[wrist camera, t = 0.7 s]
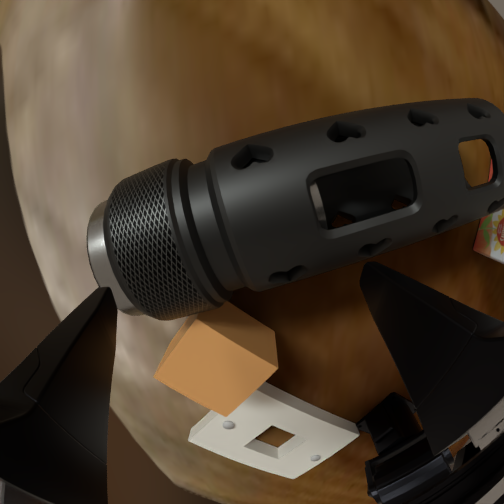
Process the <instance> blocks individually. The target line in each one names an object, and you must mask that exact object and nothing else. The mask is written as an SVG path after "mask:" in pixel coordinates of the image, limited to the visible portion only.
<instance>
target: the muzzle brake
mask: <svg viewBox="0 0 504 504" xmlns="http://www.w3.org/2000/svg"><path fill="white" fill-rule="evenodd" d="M475 139H482V140H483V141H485V142H486V144H487V146H488V148H489V151H490V155H491V159H492V167H493V174H492V178H491V179H490V181H489V182H487V183H484V184H481V185H478V186H474V187H471V186H470V185H469V184H468V182H467V181H466V179H465V178H464V171H463V166H462V162H461V158H460V155H459V151H458V145H459V143H460V142H464V141H469V140H475ZM394 199H396V200H398V201H400V202H402V203H405V204H406V205H408V206H406V207H404V206H403V208H401V209H398V210H395V209H393V208H392V207H391V204H392V203H393V201H394ZM502 209H504V114H503V113H502V112H501V110H500V109H498V108H497V107H496V106H495V105H493V104H492V103H490V102H488V101H486V100H483V99H479V98H464V99H446V100H434V101H423V102H414V103H405V104H398V105H390V106H384V107H377V108H371V109H365V110H359V111H354V112H349V113H344V114H339V115H334V116H329V117H324V118H320V119H315V120H311V121H307V122H303V123H299V124H295V125H291V126H287V127H283V128H279V129H276V130H272V131H269V132H265V133H262V134H258V135H255V136H251V137H248V138H245V139H242V140H238V141H235V142H232V143H229V144H226V145H223V146H220V147H217V148H214V149H213V150H212V151H211V152H210V154H209V156H208V158H207V160H205V161H203V162H200V163H197V164H193V163H192V162H190V161H189V160H187V159H182V160H178V159H170V160H168V161H165V162H163V163H160V164H158V165H155V166H153V167H151V168H148V169H146V170H144V171H141V172H139V173H137V174H134V175H132V176H130V177H128V178H126V179H123V180H122V181H121V182H120V183H119V184H117V185H116V186H115V188H114V189H113V191H112V193H111V195H110V196H109V198H108V200H106V201H104V202H102V203H100V204H99V205H98V206H97V207H96V208H95V209H94V211H93V213H92V215H91V217H90V220H89V223H88V227H87V252H88V257H89V262H90V266H91V269H92V272H93V275H94V278H95V280H96V282H97V284H98V286H99V287H110V288H111V290H112V293H113V296H114V299H115V302H116V305H117V309H118V310H120V311H121V312H123V313H125V314H128V315H131V316H140V315H144V314H145V315H148V316H150V317H153V318H156V319H158V320H173V319H177V318H181V317H185V316H189V315H193V314H197V313H201V312H205V311H209V310H213V309H217V308H219V307H221V306H222V305H223V304H224V302H226V301H229V300H230V299H231V297H232V294H233V290H236V289H240V288H243V287H248V288H250V289H251V290H253V291H258V292H260V291H264V290H267V289H271V288H274V287H278V286H281V285H285V284H288V283H291V282H295V281H298V280H301V279H305V278H308V277H311V276H315V275H318V274H321V273H324V272H328V271H331V270H334V269H337V268H340V267H343V266H347V265H350V264H353V263H356V262H359V261H362V260H365V259H368V258H371V257H374V256H377V255H380V254H383V253H386V252H389V251H392V250H395V249H398V248H401V247H404V246H407V245H409V244H412V243H415V242H418V241H421V240H424V239H426V238H429V237H432V236H435V235H437V234H440V233H443V232H446V231H448V230H451V229H454V228H456V227H459V226H462V225H464V224H467V223H470V222H472V221H475V220H477V219H480V218H482V217H485V216H488V215H490V214H493V213H495V212H498V211H500V210H502ZM337 215H340V216H342V217H344V218H347V219H349V220H352V221H353V223H352V224H344V225H343V226H342V227H338V228H334V227H333V226H332V223H333V221H334V220H335V218H336V217H337Z"/></svg>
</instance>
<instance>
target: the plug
mask: <svg viewBox="0 0 504 504" xmlns="http://www.w3.org/2000/svg"><path fill="white" fill-rule="evenodd" d="M277 369H278V359H277V349H276V339H275V331H273V330H272V329H270V328H268V327H267V326H265V325H264V324H262V323H260V322H259V321H257V320H256V319H254V318H253V317H251V316H250V315H248V314H246V313H245V312H243V311H242V310H240V309H239V308H237V307H236V306H234V305H233V304H231V303H230V302H228V301H226V302H224V304H223V305H222V306H221V307H219V308H217V309H213V310H209V311H205V312H201V313H197V314H193V315H189V317H188V318H187V320H186V321H185V322H184V324H183V325H182V327H181V328H180V329H179V331H178V332H177V334H176V335H175V336H174V338H173V339H172V341H171V342H170V344H169V346H168V348H167V350H166V352H165V354H164V356H163V358H162V360H161V362H160V364H159V366H158V368H157V371H156V373H155V375H154V378H156V379H157V380H159V381H160V382H162V383H164V384H165V385H167V386H169V387H170V388H172V389H174V390H176V391H177V392H179V393H181V394H183V395H184V396H186V397H188V398H190V399H192V400H193V401H195V402H197V403H199V404H201V405H203V406H205V407H207V408H209V409H211V410H213V411H215V412H217V413H219V414H221V415H223V416H225V417H227V416H228V415H229V414H230V413H232V412H233V411H234V410H235V409H236V408H237V407H238V406H239V405H240V404H242V403H243V402H244V401H245V400H246V399H247V398H248V397H249V396H250V395H251V394H252V393H253V392H254V391H256V390H257V389H258V388H259V387H260V386H261V385H262V384H263V383H264V382H265V381H266V380H267V379H268V378H269V377H270V376H271V375H272V374H273V373H274V372H275V371H276V370H277Z"/></svg>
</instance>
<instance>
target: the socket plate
mask: <svg viewBox="0 0 504 504" xmlns="http://www.w3.org/2000/svg"><path fill="white" fill-rule="evenodd" d="M271 425H273V426H275V427H277V428H280V429H282V430H285V431H287V432H290V433H292V434H295V436H294V437H292V438H291V439H290V440H288V441H287V442H285V443H284V444H283V445H281V446H280V447H278V448H277V447H275V446H272V445H269V444H267V443H264V442H262V441H259V440H257V439H254V438H256V437H257V436H258V435H260V434H261V433H262V432H264V431H265V430H266V429H267V428H269V427H270V426H271ZM359 435H360V434H359V431H358V428H357V427H356V424H355V423H353V422H350V421H348V420H346V419H343V418H341V417H338V416H336V415H334V414H331V413H329V412H327V411H325V410H322V409H320V408H318V407H316V406H314V405H311V404H309V403H307V402H305V401H303V400H301V399H299V398H297V397H295V396H293V395H291V394H288V393H286V392H284V391H282V390H280V389H279V388H277V387H275V386H273V385H271V384H269V383H267V382H264V383H263V384H262V385H261V386H260V387H259V388H258V389H257V390H256V391H254V392H253V393H252V394H251V395H250V396H249V397H248V398H247V399H246V400H245V401H244V402H243V403H242V404H240V405H239V406H238V407H237V408H236V409H235V410H234V411H233V412H232V413H230V414H229V415H228V416H227V417H225V416H223V415H221V414H219V413H217V412H215V411H213V410H211V411H210V412H209V413H208V414H207V415H206V416H204V417H203V418H202V419H201V420H200V421H199V422H198V423H197V424H196V425H195V426H194V427H192V428H191V431H190V435H189V439H188V441H190V442H192V443H194V444H196V445H198V446H201V447H203V448H205V449H207V450H210V451H212V452H215V453H217V454H219V455H222V456H224V457H227V458H229V459H232V460H235V461H237V462H240V463H243V464H246V465H248V466H251V467H254V468H257V469H260V470H263V471H267V472H270V473H273V474H277V475H280V476H284V477H287V478H291V479H294V478H296V477H298V476H300V475H301V474H303V473H305V472H306V471H308V470H310V469H311V468H313V467H315V466H316V465H318V464H319V463H321V462H323V461H324V460H326V459H327V458H329V457H330V456H332V455H333V454H335V453H336V452H337V451H339V450H340V449H342V448H343V447H345V446H346V445H347V444H349V443H350V442H351V441H353V440H354V439H355V438H357V437H358V436H359Z"/></svg>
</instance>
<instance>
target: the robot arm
mask: <svg viewBox="0 0 504 504" xmlns="http://www.w3.org/2000/svg"><path fill="white" fill-rule="evenodd" d="M360 287H361V290H362V292H363V295H364V297H365V299H366V302H367V304H368V307H369V310H370V312H371V315H372V317H373V319H374V321H375V323H376V325H377V327H378V329H379V331H380V333H381V335H382V337H383V339H384V341H385V343H386V345H387V347H388V350H389V352H390V354H391V356H392V358H393V360H394V362H395V364H396V366H397V368H398V371H399V373H400V375H401V377H402V379H403V382H404V384H405V386H406V388H407V391H408V393H409V395H410V397H411V400H412V402H411V401H410V400H408V399H406V398H404V397H402V396H400V395H399V394H397V393H391V394H390V395H389V396H388V397H386V398H385V399H384V400H383V401H382V402H381V403H380V404H379V405H378V406H376V407H375V408H374V409H373V410H372V411H371V412H370V413H368V414H367V415H366V416H365V417H364V418H362V419H361V420H360V421H359V422H357V423H356V427H357V428H358V429H359V430H362V431H364V432H367V433H370V435H371V437H372V440H373V442H374V445H375V447H376V450H377V453H378V455H379V456H377V457H375V458H373V459H371V460H368V461H366V462H365V465H366V467H365V471H366V477H367V483H368V491H367V493H368V496H369V497H373V498H374V499H375V501H376V502H377V503H378V504H381V503H382V504H504V322H503V321H500V320H498V319H495V318H493V317H491V316H489V315H486V314H484V313H482V312H480V311H477V310H475V309H473V308H471V307H469V306H467V305H464V304H462V303H460V302H458V301H456V300H454V299H452V298H449V297H448V296H446V295H444V294H442V293H440V292H438V291H436V290H434V289H432V288H430V287H428V286H426V285H424V284H422V283H420V282H418V281H416V280H414V279H412V278H409V277H407V276H405V275H403V274H401V273H399V272H397V271H395V270H392V269H390V268H388V267H386V266H384V265H382V264H380V263H377V262H367V263H365V265H364V267H363V271H362V274H361V278H360ZM116 329H117V305H116V302H115V299H114V296H113V293H112V290H111V288H110V287H98V288H97V289H96V290H95V291H94V292H93V293H92V294H90V295H89V296H88V297H87V298H86V299H85V300H84V301H83V302H82V303H81V304H80V305H79V306H78V307H77V308H75V309H74V310H73V311H72V312H71V313H70V314H69V315H68V316H67V317H66V318H65V319H64V320H63V321H62V322H61V323H60V324H59V325H58V326H57V327H56V328H55V329H54V330H53V331H52V332H51V333H50V334H49V335H48V336H47V337H46V338H45V339H44V340H43V341H42V342H41V343H40V344H39V345H38V346H37V348H35V349H34V350H33V351H32V352H31V353H30V354H29V355H28V356H27V357H26V358H25V359H24V360H23V361H22V362H21V364H19V365H18V366H17V367H16V368H15V369H14V370H13V371H12V372H11V373H10V374H9V375H8V376H7V377H6V378H5V379H4V380H3V381H1V382H0V504H108V496H107V465H106V463H107V434H108V433H107V431H108V416H109V403H110V393H111V383H112V374H113V366H114V359H115V351H116ZM415 412H417V414H418V417H419V419H420V422H421V424H422V427H423V430H422V429H421V427H420V425H419V424H418V422H417V420H416V418H415V416H414V415H413V414H414V413H415ZM467 434H468V436H469V437H470V439H471V442H470V443H469V444H468V445H466V446H465V447H463V448H462V449H461V450H459V451H458V452H457V455H456V459H455V462H454V459H453V457H452V455H451V453H450V451H449V449H448V447H450V446H451V445H453V444H454V443H455V442H457V441H458V440H460V439H461V438H463V437H464V436H465V435H467ZM453 463H454V468H453V471H451V469H450V467H449V466H450V465H452V464H453Z"/></svg>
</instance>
